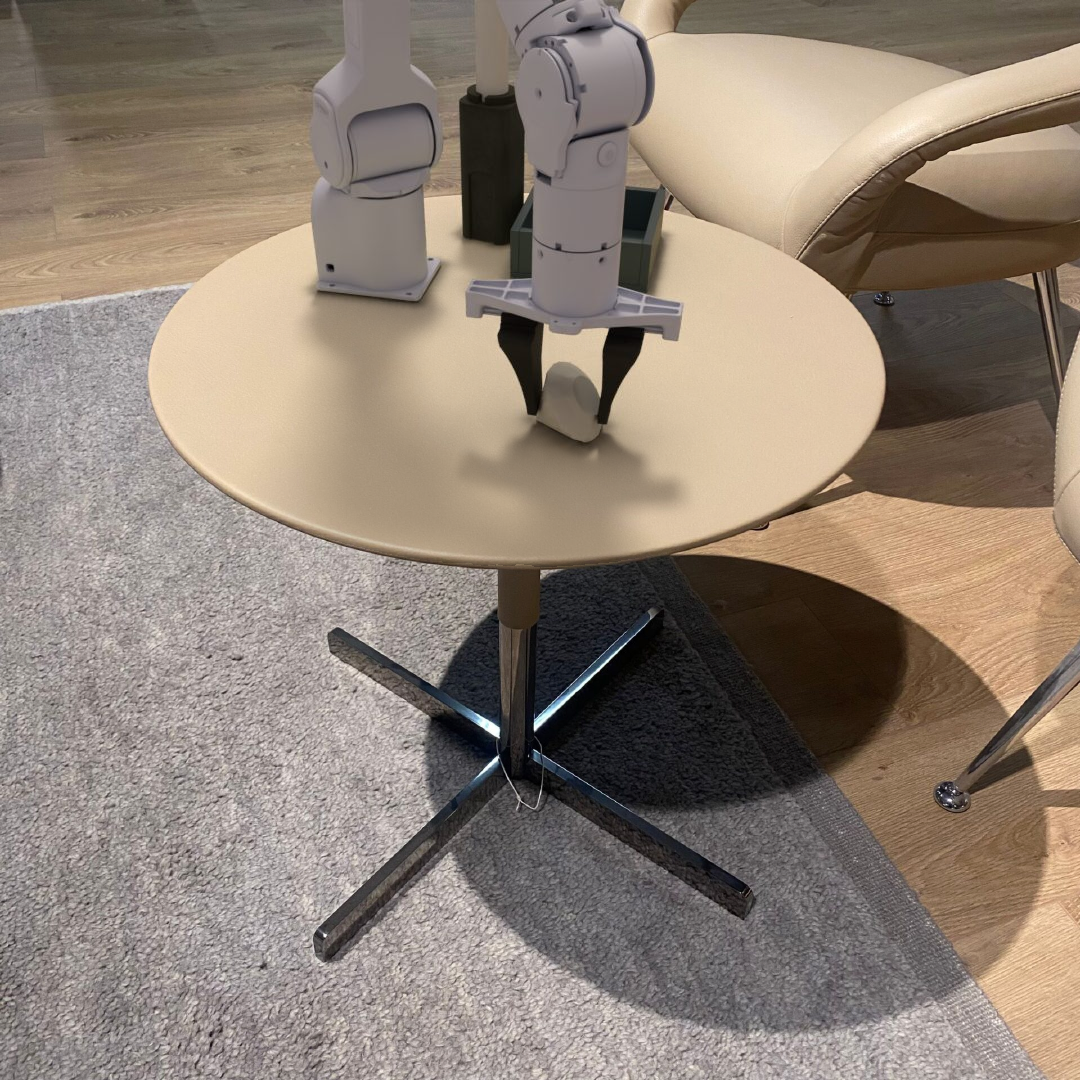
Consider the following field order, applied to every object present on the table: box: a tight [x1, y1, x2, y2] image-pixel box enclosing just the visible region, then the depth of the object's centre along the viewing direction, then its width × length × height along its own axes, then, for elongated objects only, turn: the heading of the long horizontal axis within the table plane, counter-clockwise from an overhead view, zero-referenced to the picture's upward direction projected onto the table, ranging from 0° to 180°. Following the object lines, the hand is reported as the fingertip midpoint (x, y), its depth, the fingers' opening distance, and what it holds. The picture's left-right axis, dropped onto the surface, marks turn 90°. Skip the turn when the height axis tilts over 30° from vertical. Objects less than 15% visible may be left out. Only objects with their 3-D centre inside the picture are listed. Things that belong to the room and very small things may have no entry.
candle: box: [458, 0, 526, 246], centre depth 92 cm, size 5×5×25 cm
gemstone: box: [535, 361, 603, 443], centre depth 74 cm, size 6×6×5 cm
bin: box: [509, 184, 667, 294], centre depth 96 cm, size 13×13×5 cm
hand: (568, 412), depth 74 cm, fingers closed on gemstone, 4 cm apart
